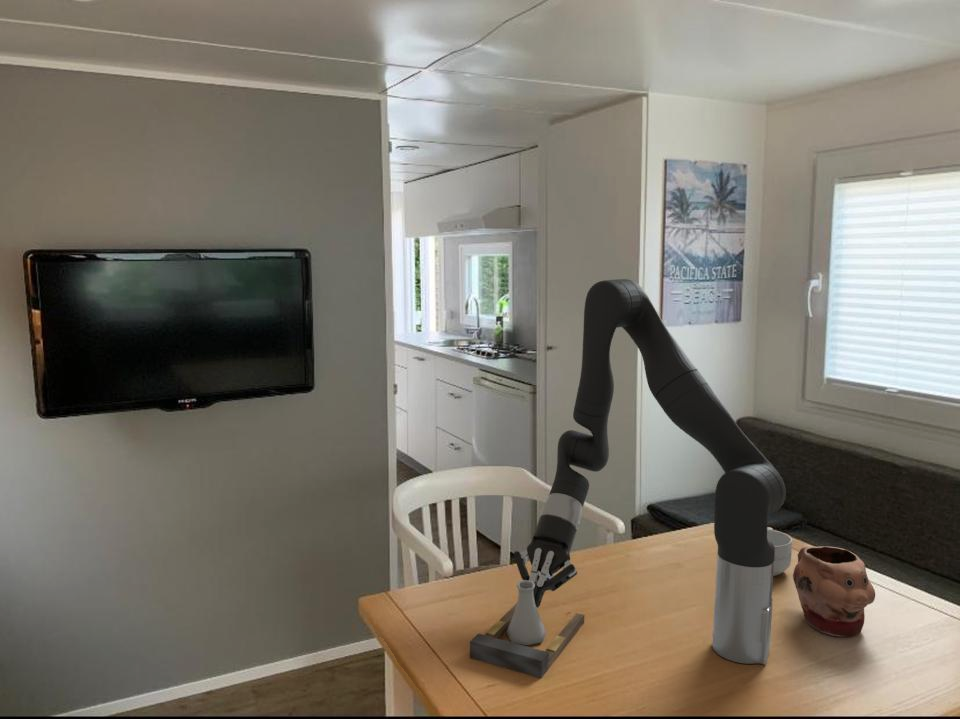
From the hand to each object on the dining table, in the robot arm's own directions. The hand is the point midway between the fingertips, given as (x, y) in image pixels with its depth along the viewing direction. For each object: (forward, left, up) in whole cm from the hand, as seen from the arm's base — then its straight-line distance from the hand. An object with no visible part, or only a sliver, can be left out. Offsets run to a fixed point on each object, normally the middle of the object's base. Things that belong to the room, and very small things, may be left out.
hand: (530, 607), depth 135 cm
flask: (0, +2, -5) cm, 5 cm away
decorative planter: (-48, -30, -5) cm, 57 cm away
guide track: (-1, +3, -5) cm, 5 cm away
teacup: (-35, -51, -5) cm, 63 cm away
